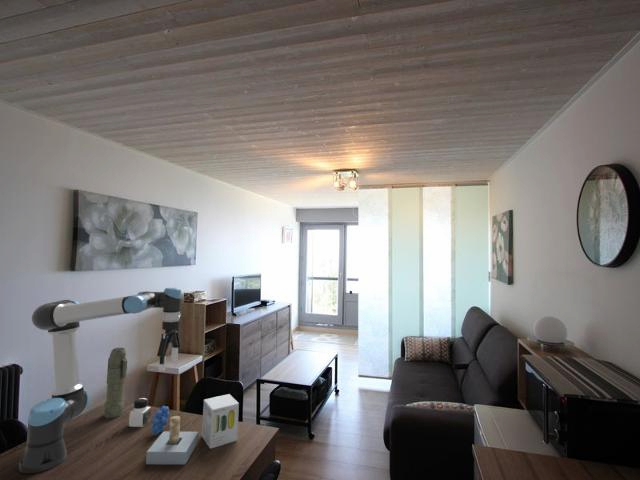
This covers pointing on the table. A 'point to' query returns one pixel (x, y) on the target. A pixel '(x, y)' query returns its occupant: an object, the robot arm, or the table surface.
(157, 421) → the grapes
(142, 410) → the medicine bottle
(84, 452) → the table surface
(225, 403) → the supplement box
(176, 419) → the peg
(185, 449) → the socket block
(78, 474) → the table surface
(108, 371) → the thermos
